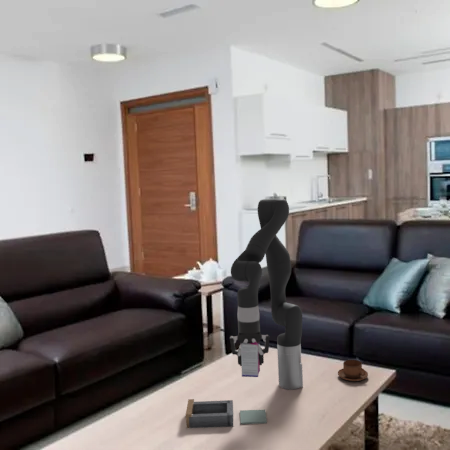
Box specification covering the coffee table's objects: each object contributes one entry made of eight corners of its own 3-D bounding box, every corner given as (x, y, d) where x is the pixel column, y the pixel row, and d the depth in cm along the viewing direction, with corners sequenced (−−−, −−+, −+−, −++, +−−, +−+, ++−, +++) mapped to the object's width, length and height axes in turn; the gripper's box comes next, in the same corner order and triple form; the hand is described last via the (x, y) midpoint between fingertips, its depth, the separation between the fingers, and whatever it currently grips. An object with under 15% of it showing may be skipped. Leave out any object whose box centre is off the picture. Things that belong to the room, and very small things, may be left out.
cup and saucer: (371, 374, 216) (371, 360, 216) (362, 385, 206) (362, 370, 206) (343, 370, 223) (343, 356, 222) (333, 380, 213) (333, 365, 212)
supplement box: (258, 377, 179) (257, 344, 178) (241, 376, 180) (239, 344, 179) (260, 370, 185) (259, 339, 184) (244, 370, 186) (242, 339, 185)
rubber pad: (265, 411, 189) (265, 409, 189) (266, 423, 180) (266, 421, 180) (240, 412, 189) (240, 410, 189) (240, 424, 180) (240, 422, 180)
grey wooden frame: (233, 410, 190) (232, 397, 190) (233, 426, 179) (232, 412, 178) (189, 412, 191) (188, 399, 190) (186, 428, 179) (185, 414, 178)
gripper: (268, 314, 184) (270, 360, 186) (227, 316, 184) (230, 361, 186) (270, 320, 177) (272, 368, 179) (227, 322, 177) (230, 370, 179)
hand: (250, 364), depth 182 cm, fingers closed on supplement box, 6 cm apart
